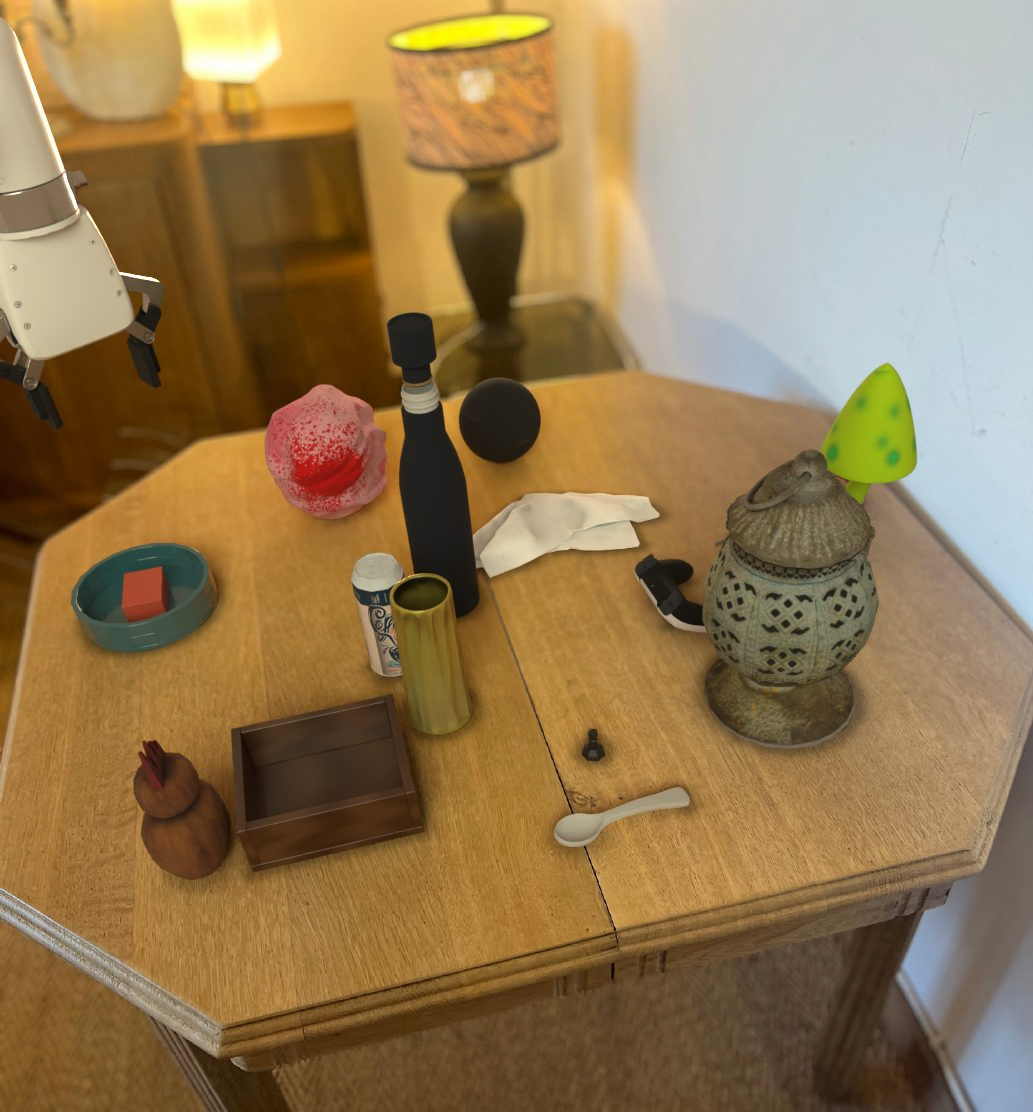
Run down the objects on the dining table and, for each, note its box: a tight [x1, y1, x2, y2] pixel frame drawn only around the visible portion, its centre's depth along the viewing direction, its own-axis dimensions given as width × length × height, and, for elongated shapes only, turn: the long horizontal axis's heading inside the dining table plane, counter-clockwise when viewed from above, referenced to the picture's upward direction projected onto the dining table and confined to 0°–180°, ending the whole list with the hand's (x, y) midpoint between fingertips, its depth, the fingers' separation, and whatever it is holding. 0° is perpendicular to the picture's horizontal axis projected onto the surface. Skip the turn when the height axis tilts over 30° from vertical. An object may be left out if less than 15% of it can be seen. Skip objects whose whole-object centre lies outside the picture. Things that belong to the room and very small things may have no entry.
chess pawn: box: [581, 727, 606, 762], centre depth 85 cm, size 2×2×3 cm
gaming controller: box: [633, 553, 707, 634], centre depth 98 cm, size 11×4×7 cm
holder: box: [230, 693, 425, 873], centre depth 82 cm, size 14×12×5 cm
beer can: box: [350, 552, 406, 678], centre depth 92 cm, size 5×5×12 cm
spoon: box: [553, 786, 691, 848], centre depth 80 cm, size 3×12×2 cm, turn 111°
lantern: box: [702, 449, 880, 750], centre depth 81 cm, size 14×14×25 cm
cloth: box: [472, 491, 660, 579], centre depth 110 cm, size 26×14×2 cm, turn 102°
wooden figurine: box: [132, 739, 231, 881], centre depth 75 cm, size 7×6×15 cm
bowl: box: [70, 542, 219, 653], centre depth 104 cm, size 14×14×4 cm
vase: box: [390, 573, 474, 736], centre depth 86 cm, size 6×6×14 cm
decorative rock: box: [264, 383, 389, 520], centre depth 112 cm, size 19×14×15 cm
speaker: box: [458, 377, 542, 464], centre depth 119 cm, size 10×10×10 cm
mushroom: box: [819, 362, 918, 506], centre depth 91 cm, size 8×8×25 cm
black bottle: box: [386, 311, 481, 619], centre depth 92 cm, size 6×6×30 cm
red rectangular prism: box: [122, 567, 169, 623], centre depth 104 cm, size 6×4×2 cm, turn 14°
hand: (103, 402), depth 89 cm, fingers open, 9 cm apart
